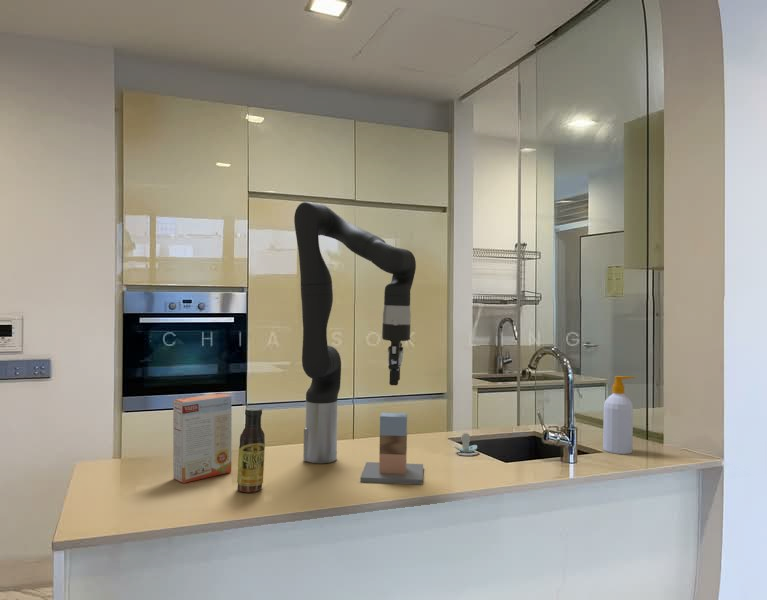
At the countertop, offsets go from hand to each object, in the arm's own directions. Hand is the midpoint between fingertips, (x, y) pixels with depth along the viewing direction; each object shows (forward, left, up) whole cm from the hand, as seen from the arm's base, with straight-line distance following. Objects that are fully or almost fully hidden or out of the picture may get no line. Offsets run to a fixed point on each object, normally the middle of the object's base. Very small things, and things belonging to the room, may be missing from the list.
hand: (394, 382), depth 151 cm
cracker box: (-50, -7, -25) cm, 56 cm away
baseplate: (0, 0, -25) cm, 25 cm away
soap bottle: (+70, +34, -25) cm, 82 cm away
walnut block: (0, 0, -19) cm, 19 cm away
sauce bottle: (-34, -16, -25) cm, 45 cm away
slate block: (0, 0, -14) cm, 14 cm away
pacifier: (+21, +24, -25) cm, 41 cm away
